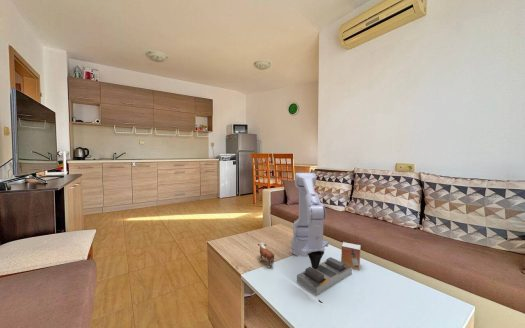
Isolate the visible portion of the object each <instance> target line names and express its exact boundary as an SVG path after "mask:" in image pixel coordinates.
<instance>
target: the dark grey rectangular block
mask: <svg viewBox="0 0 525 328" xmlns="http://www.w3.org/2000/svg"><path fill="white" fill-rule="evenodd" d="M325 261H326V264H327V265H329V266H330V267H332V268H334V269H336V270H338V271H340V272H341V271H343V270H344V263H342V262H341V260H338V259H336V258H334V259H333V257H328V258H326V260H325Z"/></svg>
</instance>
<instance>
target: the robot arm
mask: <svg viewBox="0 0 525 328" xmlns="http://www.w3.org/2000/svg"><path fill="white" fill-rule="evenodd" d="M316 175H317V174H316V173H315V172H296V173H295V174H294V186H295V188H296V189H298V218H297V219H296V220H294V221H293V227H292V233H293V236H292V237H291V240H290V242H291V244H290V249H291V250H290V251H289V252H290V253H291V254H293V255H294V256H297V257H298V256H301V257H307V256H308V258H309V260H310V265H311V267H312V268H314V269H318V266H319V264H320V263H321V259H322V257H323V256H324V255H325V251H326V248H328V247H329V242H328V241H327V240H324V220H326V218H327V217H326V216H327V213H326V211H327V210H326V208H325V205H324V204H323V203H322V202H321V199H320V196H319V194H318V193H317V192H316V191H315V187H314V186H315V185H316V183H317V176H316ZM325 247H326V248H325Z"/></svg>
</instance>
